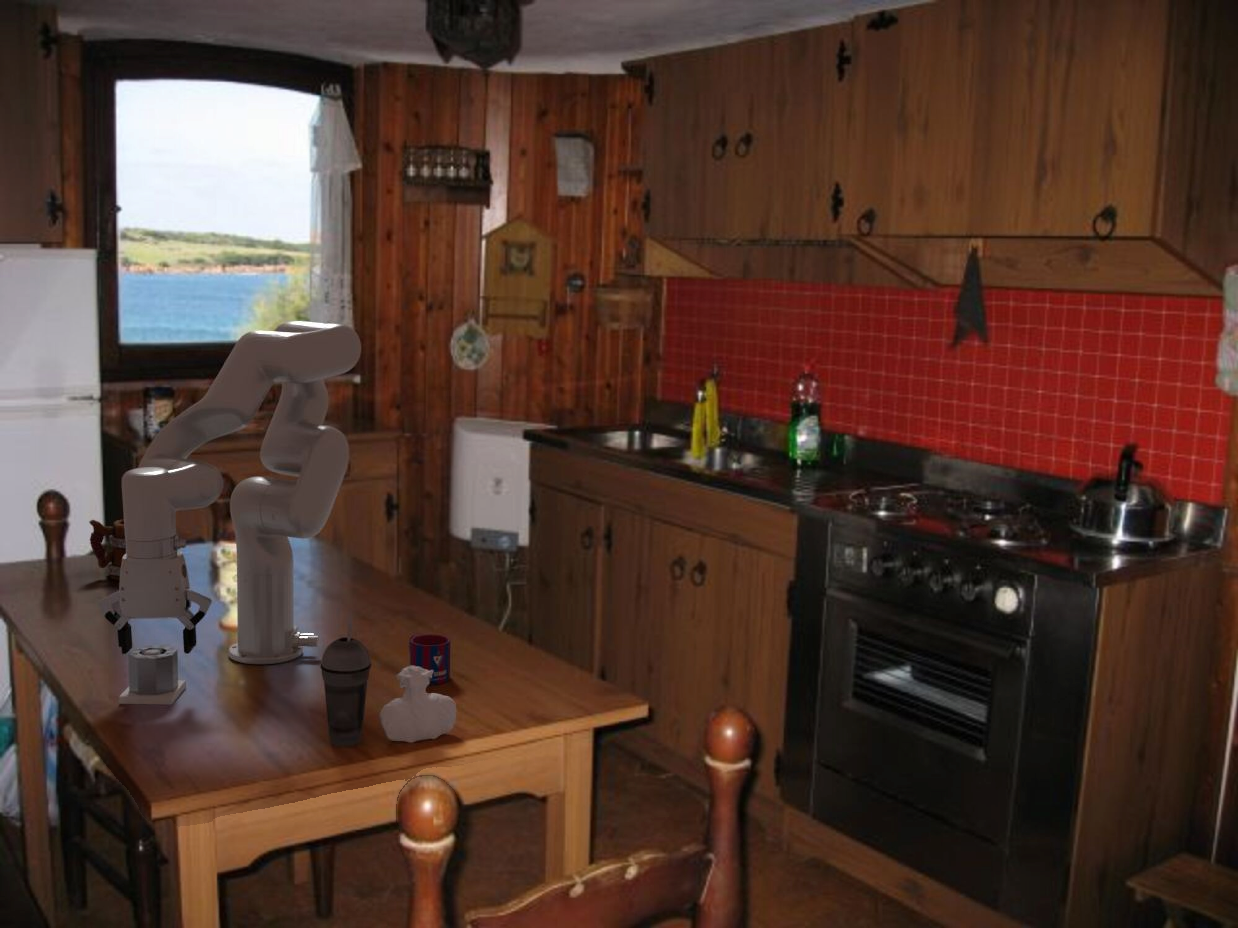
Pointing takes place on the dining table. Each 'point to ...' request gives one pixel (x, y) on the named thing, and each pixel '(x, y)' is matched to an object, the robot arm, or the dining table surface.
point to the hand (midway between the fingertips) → (158, 650)
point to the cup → (431, 655)
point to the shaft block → (165, 699)
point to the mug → (116, 541)
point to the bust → (417, 709)
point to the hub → (153, 670)
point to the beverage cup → (345, 688)
